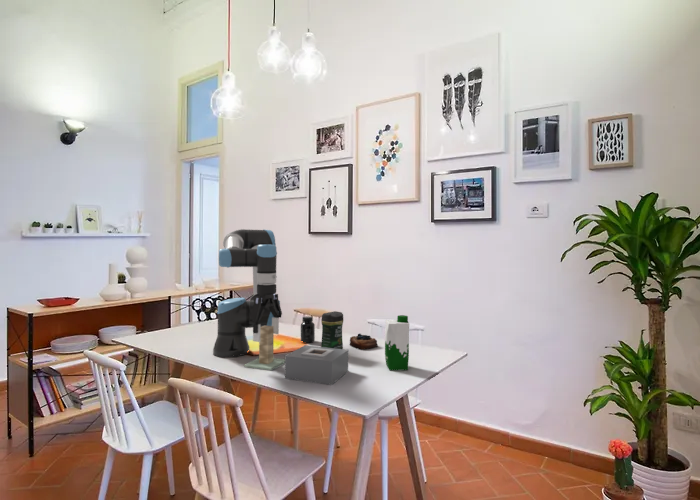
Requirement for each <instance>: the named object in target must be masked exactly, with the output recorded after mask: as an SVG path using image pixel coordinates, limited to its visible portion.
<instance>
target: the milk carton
mask: <svg viewBox="0 0 700 500" xmlns="http://www.w3.org/2000/svg"><path fill="white" fill-rule="evenodd" d="M384 329H385V330H384V357H385V365H386V368H387V369H388V370H389V371H408V369H409V357H410V355H409V353H410V322H409V316H408V315H403V314H402V315H397V318H396V319H386V320H385V328H384Z"/></svg>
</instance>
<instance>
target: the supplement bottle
mask: <svg viewBox="0 0 700 500" xmlns="http://www.w3.org/2000/svg"><path fill="white" fill-rule="evenodd" d="M313 319H314V318H313V316H302V322H301V323H300V342H301V341H303V342H306V343H305V344H312V343H314V342H315V341H316V340H315V337H316V335H315V334H316V333H315V331H316V330H315V328H316V327H315V326H316V324H315V322H313Z"/></svg>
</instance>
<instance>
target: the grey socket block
mask: <svg viewBox="0 0 700 500" xmlns="http://www.w3.org/2000/svg"><path fill="white" fill-rule="evenodd" d="M314 353H316V354H314ZM284 359H285V363H284V379H287V380H295V381H299V382H300V381H302V382H310V383H314V384H323V385H330V386H333V384H335V382H337V381H338V380H340V379H341V378H342V377H343V376H344V375H346V373H348V372H349V349H344V348H343V349H335V348H326V347H321V346H314V345H307V344H306V345H303V346H301V347H300V348H297V349H295V350H294V351H292V352H290V353H287V354H286V355H284Z"/></svg>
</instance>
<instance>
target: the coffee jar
mask: <svg viewBox="0 0 700 500" xmlns="http://www.w3.org/2000/svg"><path fill="white" fill-rule="evenodd" d="M320 321H321V325H322V329H321V330H322V333H321V344H320V345H321V346H320V347H326V348H335V349H344V344H343V324H344V313H343V312H341V311H336V310H335V311H329V312H325V313H323V314H322V315H321V320H320Z"/></svg>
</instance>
